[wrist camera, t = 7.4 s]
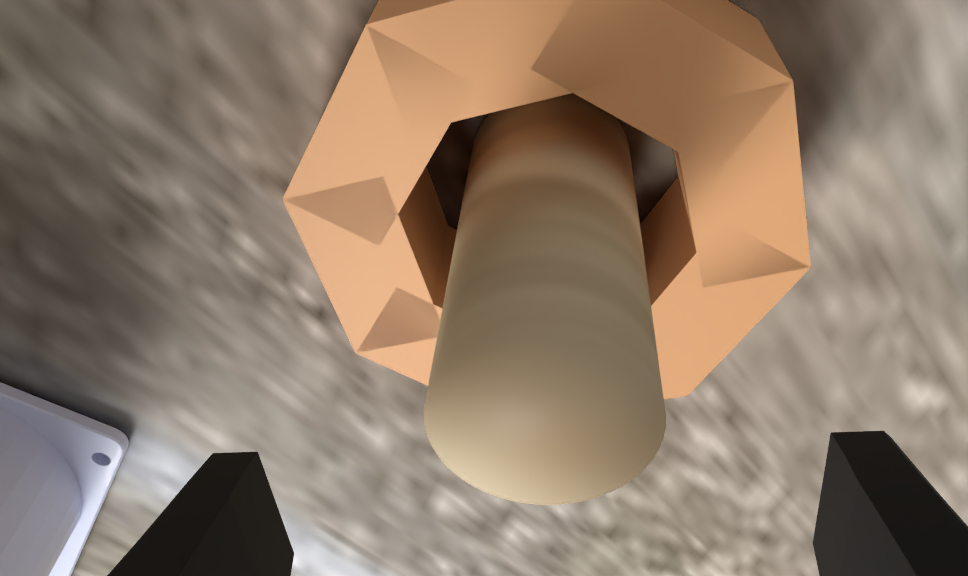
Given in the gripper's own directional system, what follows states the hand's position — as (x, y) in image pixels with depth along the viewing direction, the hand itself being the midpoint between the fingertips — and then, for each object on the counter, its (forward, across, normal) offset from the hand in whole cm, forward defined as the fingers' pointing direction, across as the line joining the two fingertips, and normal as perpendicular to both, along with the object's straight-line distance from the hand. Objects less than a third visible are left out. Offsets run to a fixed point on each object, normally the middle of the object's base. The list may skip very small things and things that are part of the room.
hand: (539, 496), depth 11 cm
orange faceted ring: (+9, 0, 0) cm, 9 cm away
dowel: (+9, 0, 0) cm, 9 cm away
